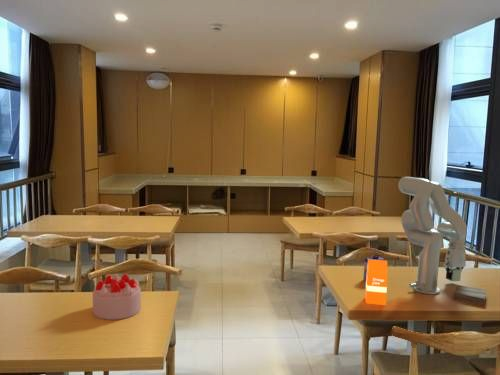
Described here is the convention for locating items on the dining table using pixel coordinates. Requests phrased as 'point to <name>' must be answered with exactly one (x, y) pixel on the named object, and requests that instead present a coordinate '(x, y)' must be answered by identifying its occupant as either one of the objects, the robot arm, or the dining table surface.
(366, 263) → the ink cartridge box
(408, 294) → the dining table surface
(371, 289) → the orange juice
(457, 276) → the sage block
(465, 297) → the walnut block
